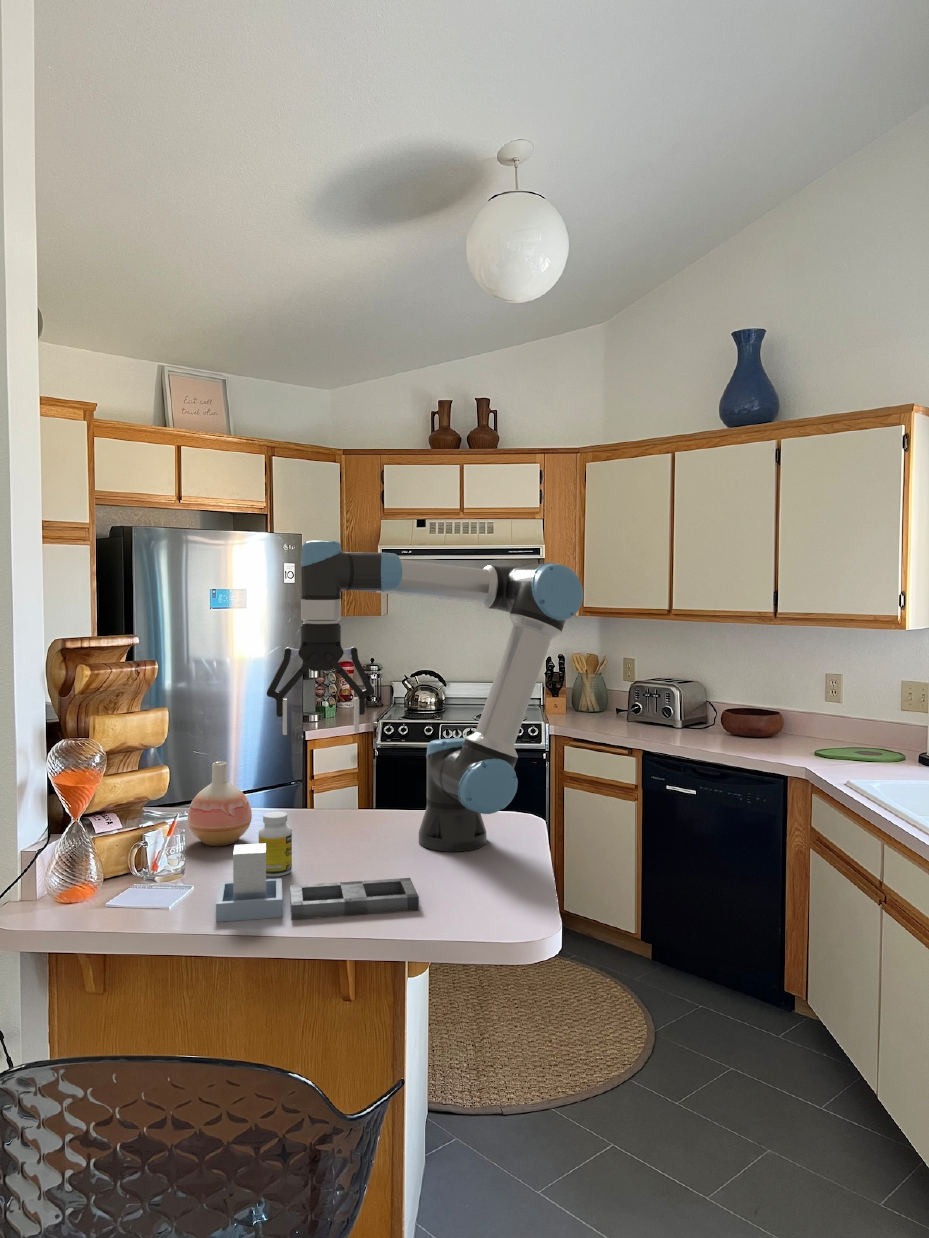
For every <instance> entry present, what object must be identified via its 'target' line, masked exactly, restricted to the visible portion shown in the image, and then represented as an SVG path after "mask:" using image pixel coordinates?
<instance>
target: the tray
mask: <svg viewBox="0 0 929 1238" xmlns="http://www.w3.org/2000/svg"><path fill="white" fill-rule="evenodd" d="M282 881H283V879H282V878H266V899H251V900H236V901H233V880H232V881H220V882H219V885H218V890H217V891H218V892H217V895H216V902H215V923H219V922H229V921H230V922H233V921H235V922H236V921H246V920H250V921H251V920H262V919H275V918H276V919H277V918H283V882H282Z"/></svg>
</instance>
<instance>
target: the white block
mask: <svg viewBox="0 0 929 1238" xmlns="http://www.w3.org/2000/svg"><path fill="white" fill-rule="evenodd" d="M232 860H233V861H232V865H233V866H232V869H233V870H232V873H233V874H232V876H233V877H232V881H233V901H236V900H251V899H266V879H267V876H266V843H262V844H259V843H247V844H244V843H243V844H234V847H233V854H232Z"/></svg>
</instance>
